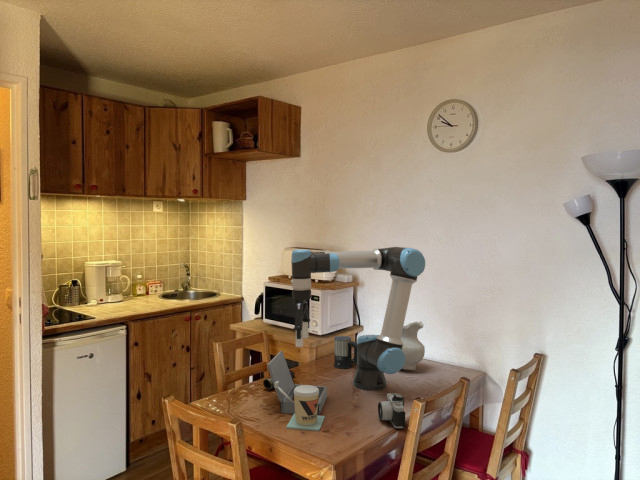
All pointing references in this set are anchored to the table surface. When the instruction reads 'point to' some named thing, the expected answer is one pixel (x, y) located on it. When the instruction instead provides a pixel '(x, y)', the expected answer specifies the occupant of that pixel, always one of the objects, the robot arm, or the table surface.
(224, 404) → the table surface
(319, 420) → the mat
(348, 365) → the milk frother
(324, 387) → the equipment case
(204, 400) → the table surface
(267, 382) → the metal pipe
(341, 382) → the table surface
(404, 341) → the ceramic pitcher
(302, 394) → the coffee cup
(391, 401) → the camera
